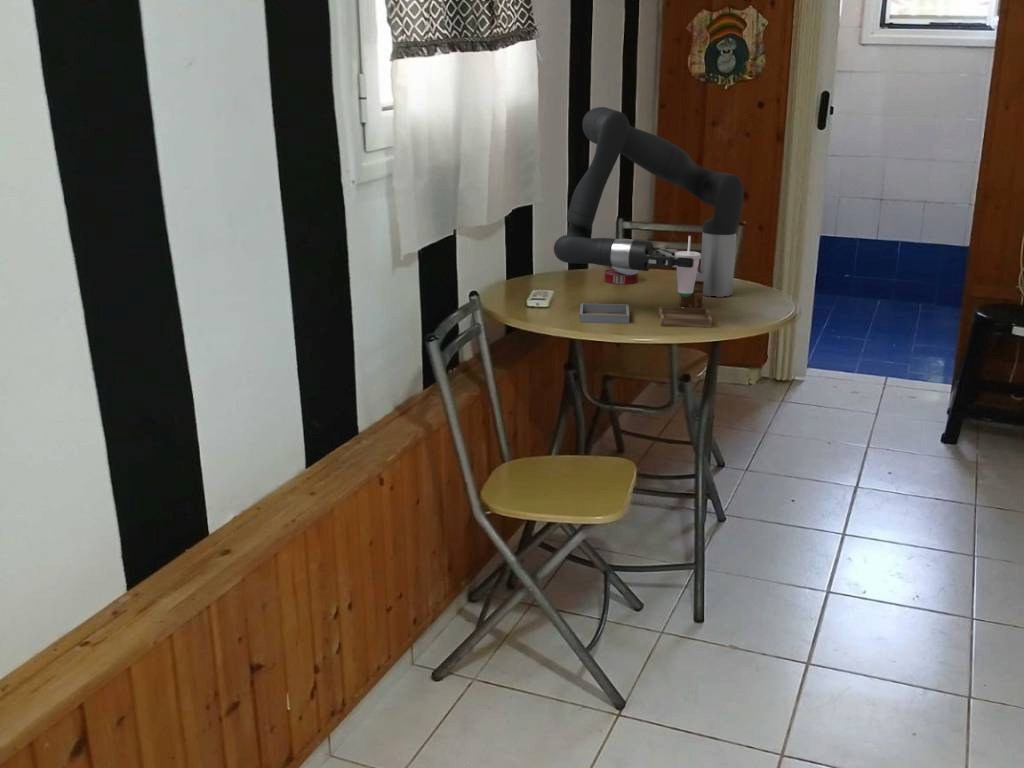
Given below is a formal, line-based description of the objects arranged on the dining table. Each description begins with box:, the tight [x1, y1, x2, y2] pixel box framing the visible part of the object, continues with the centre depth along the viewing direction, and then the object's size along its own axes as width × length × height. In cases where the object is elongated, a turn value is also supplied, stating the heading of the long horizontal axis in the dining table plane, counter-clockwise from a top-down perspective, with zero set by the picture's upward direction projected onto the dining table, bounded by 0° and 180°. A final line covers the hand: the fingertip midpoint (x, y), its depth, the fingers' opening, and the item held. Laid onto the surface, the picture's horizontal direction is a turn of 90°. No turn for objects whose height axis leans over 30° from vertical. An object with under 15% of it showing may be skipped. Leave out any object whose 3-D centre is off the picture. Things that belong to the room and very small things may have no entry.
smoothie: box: [675, 235, 701, 294], centre depth 257 cm, size 6×6×14 cm
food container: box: [679, 268, 704, 308], centre depth 276 cm, size 12×6×10 cm, turn 178°
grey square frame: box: [579, 302, 630, 324], centre depth 264 cm, size 12×12×2 cm
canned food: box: [604, 266, 640, 286], centre depth 307 cm, size 11×10×10 cm
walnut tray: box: [658, 306, 713, 328], centre depth 261 cm, size 12×12×2 cm
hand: (696, 260), depth 256 cm, fingers closed on smoothie, 6 cm apart
